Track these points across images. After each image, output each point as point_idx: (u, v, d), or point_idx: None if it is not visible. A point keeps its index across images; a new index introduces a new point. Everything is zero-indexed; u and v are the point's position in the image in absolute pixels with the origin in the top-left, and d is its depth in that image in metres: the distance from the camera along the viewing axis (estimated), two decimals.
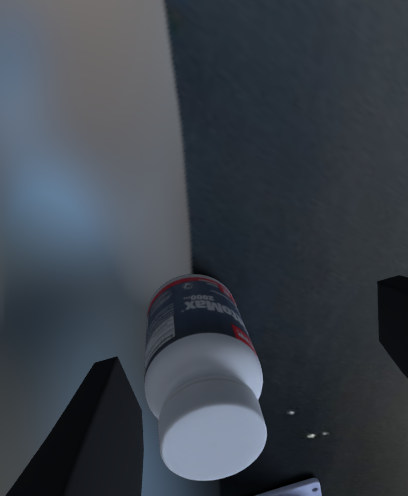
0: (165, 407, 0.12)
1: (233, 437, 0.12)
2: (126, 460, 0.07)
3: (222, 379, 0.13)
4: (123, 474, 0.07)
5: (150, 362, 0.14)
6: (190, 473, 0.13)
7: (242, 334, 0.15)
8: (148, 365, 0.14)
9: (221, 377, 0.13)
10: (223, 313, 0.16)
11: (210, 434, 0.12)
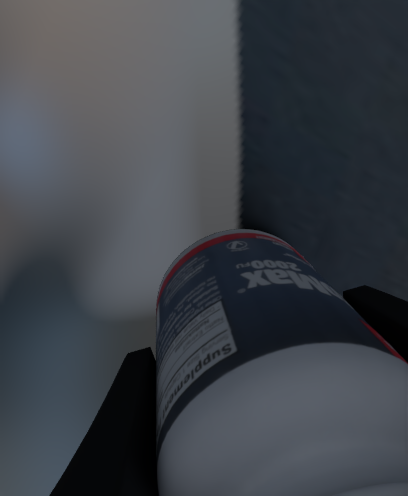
0: None
1: None
2: None
3: None
4: None
5: (173, 418, 0.06)
6: None
7: (389, 344, 0.06)
8: (167, 425, 0.06)
9: None
10: (332, 297, 0.07)
11: None
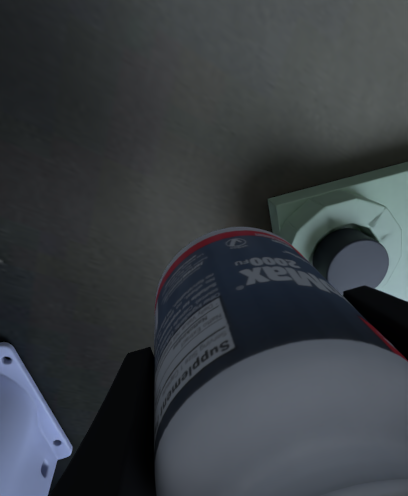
0: None
1: None
2: None
3: None
4: None
5: (170, 415, 0.06)
6: None
7: (388, 341, 0.06)
8: (164, 422, 0.06)
9: None
10: (331, 294, 0.07)
11: None
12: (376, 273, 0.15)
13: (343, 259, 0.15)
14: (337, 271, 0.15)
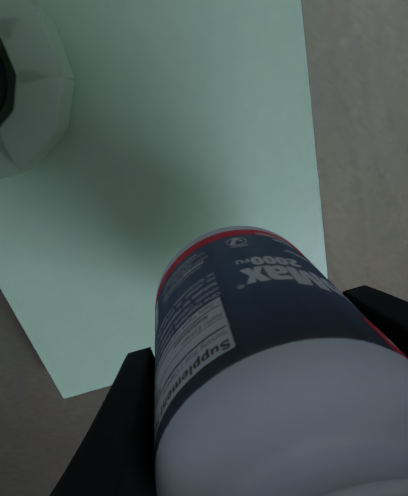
0: None
1: None
2: None
3: None
4: None
5: (170, 415, 0.05)
6: None
7: (390, 341, 0.06)
8: (165, 421, 0.06)
9: None
10: (333, 293, 0.07)
11: None
12: None
13: None
14: None
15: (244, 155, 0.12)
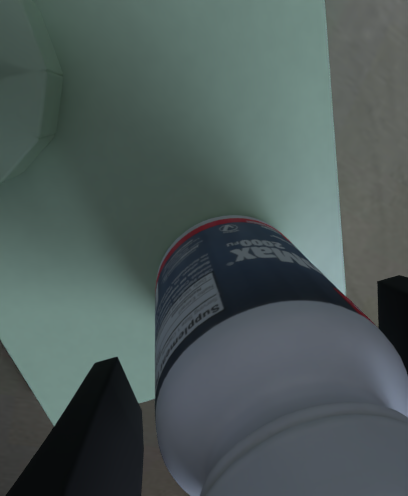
0: (218, 493, 0.05)
1: None
2: (126, 460, 0.07)
3: (369, 415, 0.05)
4: (123, 474, 0.07)
5: (169, 367, 0.06)
6: None
7: (358, 308, 0.07)
8: (164, 374, 0.07)
9: (364, 409, 0.05)
10: (310, 269, 0.08)
11: None
12: None
13: None
14: None
15: (256, 161, 0.11)
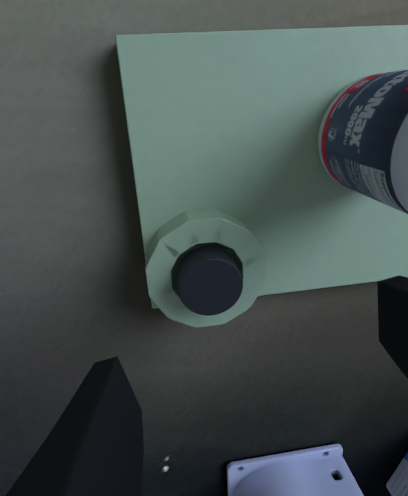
0: None
1: None
2: (126, 460, 0.07)
3: None
4: (123, 474, 0.07)
5: (403, 208, 0.12)
6: None
7: None
8: (406, 211, 0.12)
9: None
10: (385, 97, 0.12)
11: None
12: (220, 270, 0.15)
13: (195, 303, 0.16)
14: (207, 307, 0.16)
15: (290, 98, 0.15)
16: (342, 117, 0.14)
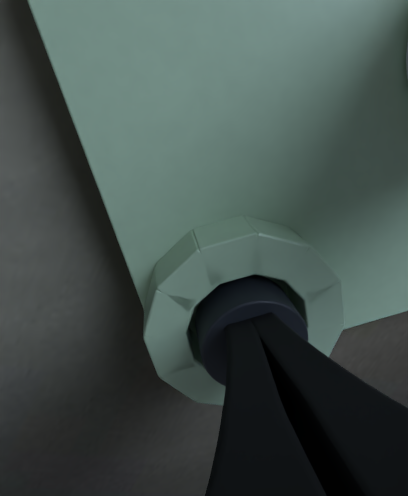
0: None
1: None
2: None
3: None
4: None
5: None
6: None
7: None
8: None
9: None
10: None
11: None
12: None
13: None
14: None
15: None
16: None
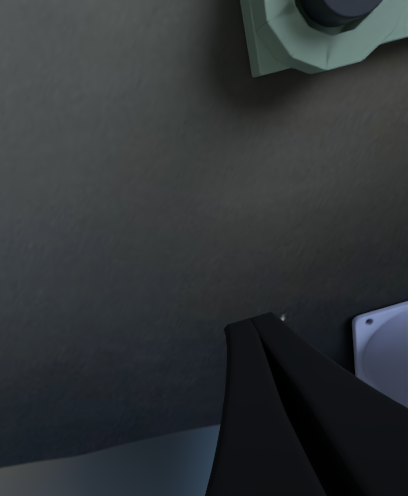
0: None
1: None
2: None
3: None
4: None
5: None
6: None
7: None
8: None
9: None
10: None
11: None
12: None
13: None
14: (352, 1, 0.12)
15: None
16: None
